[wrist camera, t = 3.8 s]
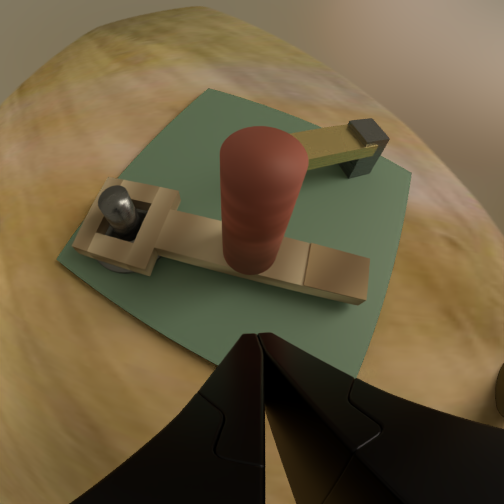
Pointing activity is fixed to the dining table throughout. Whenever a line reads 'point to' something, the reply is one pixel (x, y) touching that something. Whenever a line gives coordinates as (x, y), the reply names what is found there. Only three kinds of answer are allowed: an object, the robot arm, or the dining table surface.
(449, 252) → the dining table surface
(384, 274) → the latch board
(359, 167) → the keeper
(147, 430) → the dining table surface
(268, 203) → the latch bar
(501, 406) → the cork
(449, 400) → the dining table surface
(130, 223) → the pintle
